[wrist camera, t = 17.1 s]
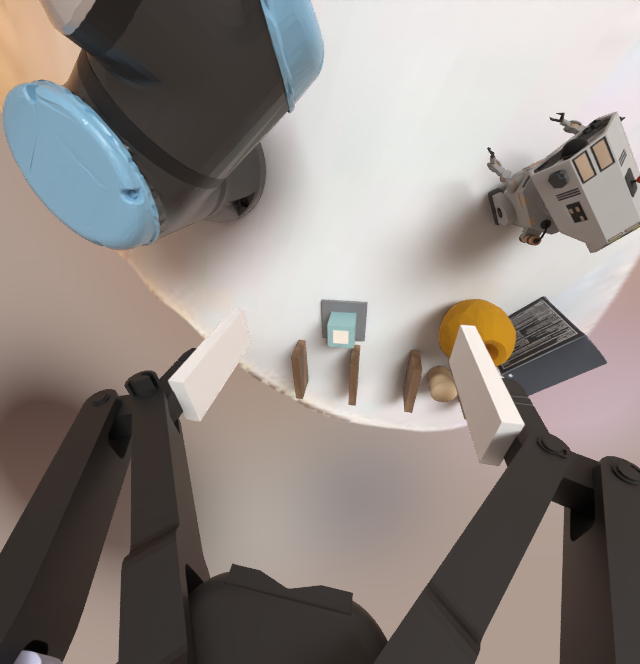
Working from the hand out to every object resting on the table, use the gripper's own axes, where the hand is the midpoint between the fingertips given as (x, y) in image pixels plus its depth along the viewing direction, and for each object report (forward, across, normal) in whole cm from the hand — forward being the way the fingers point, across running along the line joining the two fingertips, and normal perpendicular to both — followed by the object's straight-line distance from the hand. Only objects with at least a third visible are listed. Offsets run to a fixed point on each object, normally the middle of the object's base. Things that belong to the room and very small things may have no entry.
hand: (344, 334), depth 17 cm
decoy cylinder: (+29, +16, -28) cm, 43 cm away
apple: (+29, +17, -14) cm, 36 cm away
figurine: (+29, +19, +6) cm, 35 cm away
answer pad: (+29, -3, -17) cm, 33 cm away
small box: (+29, +26, -16) cm, 42 cm away
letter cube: (+28, -3, -17) cm, 33 cm away
